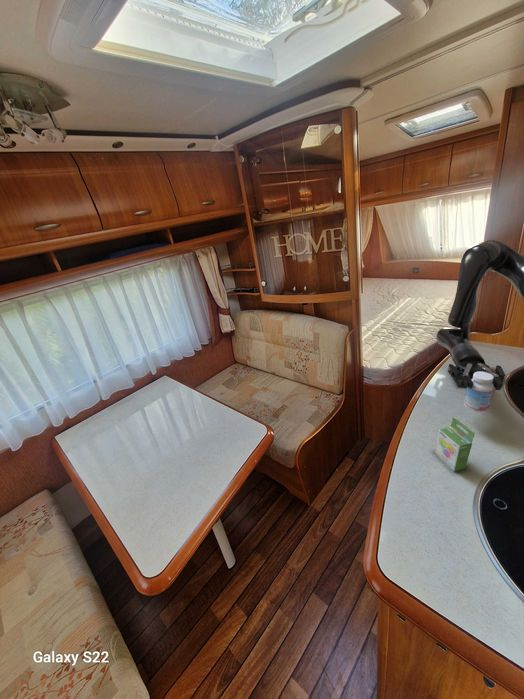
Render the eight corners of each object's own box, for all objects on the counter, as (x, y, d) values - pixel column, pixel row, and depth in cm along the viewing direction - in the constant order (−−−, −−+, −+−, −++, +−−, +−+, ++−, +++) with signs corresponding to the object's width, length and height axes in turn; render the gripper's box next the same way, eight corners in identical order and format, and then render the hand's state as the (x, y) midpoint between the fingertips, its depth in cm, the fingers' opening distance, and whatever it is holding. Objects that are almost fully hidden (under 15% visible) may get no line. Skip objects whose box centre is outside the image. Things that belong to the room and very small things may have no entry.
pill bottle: (483, 415, 80) (492, 384, 75) (460, 406, 84) (466, 376, 79) (491, 405, 83) (500, 374, 78) (468, 397, 87) (475, 367, 82)
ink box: (434, 453, 81) (440, 419, 75) (446, 450, 81) (453, 416, 75) (453, 472, 75) (462, 437, 69) (465, 469, 75) (475, 433, 69)
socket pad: (481, 374, 111) (483, 368, 110) (492, 390, 102) (494, 383, 100) (450, 373, 115) (451, 367, 113) (457, 388, 105) (459, 382, 104)
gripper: (443, 347, 92) (457, 374, 78) (495, 348, 87) (520, 377, 73) (439, 366, 95) (453, 395, 82) (489, 368, 91) (513, 399, 77)
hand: (485, 386), depth 77 cm, fingers closed on pill bottle, 6 cm apart
